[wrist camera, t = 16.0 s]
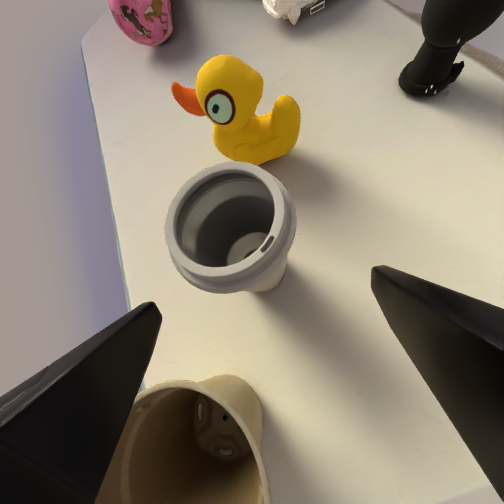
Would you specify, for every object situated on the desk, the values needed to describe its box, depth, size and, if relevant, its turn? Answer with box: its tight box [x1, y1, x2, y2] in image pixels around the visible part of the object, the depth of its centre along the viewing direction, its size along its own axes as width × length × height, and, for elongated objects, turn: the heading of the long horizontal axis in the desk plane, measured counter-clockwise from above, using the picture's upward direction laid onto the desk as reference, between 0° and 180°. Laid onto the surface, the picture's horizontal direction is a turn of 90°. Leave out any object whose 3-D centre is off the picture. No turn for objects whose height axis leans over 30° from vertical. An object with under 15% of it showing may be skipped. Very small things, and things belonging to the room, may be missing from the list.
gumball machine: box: [398, 0, 504, 96], centre depth 19 cm, size 7×6×10 cm
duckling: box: [172, 55, 301, 165], centre depth 21 cm, size 11×5×10 cm, turn 83°
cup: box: [165, 161, 296, 294], centre depth 15 cm, size 7×7×12 cm
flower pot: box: [95, 375, 272, 504], centre depth 14 cm, size 9×9×9 cm
